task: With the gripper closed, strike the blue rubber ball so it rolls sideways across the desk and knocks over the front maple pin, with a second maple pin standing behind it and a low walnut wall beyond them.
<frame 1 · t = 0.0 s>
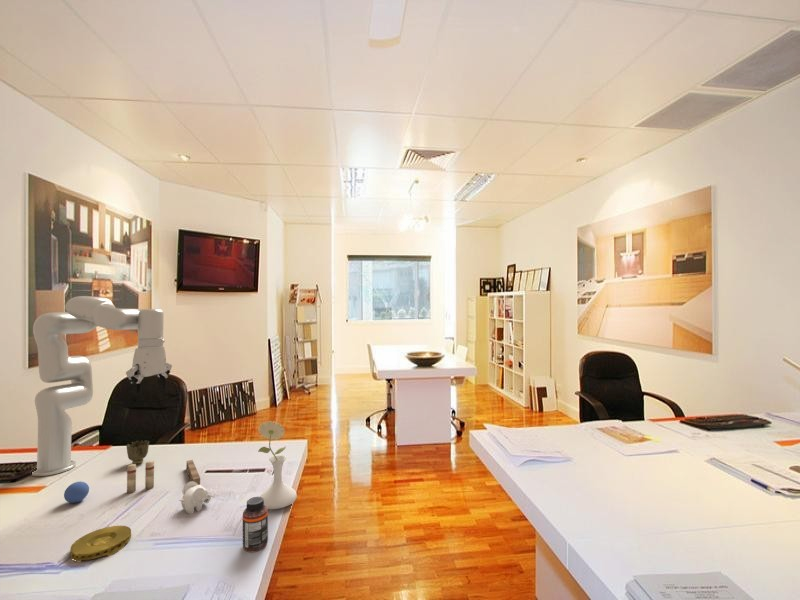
hand: (150, 392, 133), 31 cm above the table, tool pointing down, fingers open, 9 cm apart
elephant figurine: (196, 508, 113), on the table
cup: (137, 464, 148), on the table
back wall: (192, 477, 135), on the table
gold brake disc: (101, 548, 95), on the table
front pin: (131, 491, 124), on the table
flower in vase: (275, 504, 115), on the table
supplement bottle: (255, 546, 94), on the table
rear pin: (149, 487, 127), on the table
ball: (76, 492, 118), on the table
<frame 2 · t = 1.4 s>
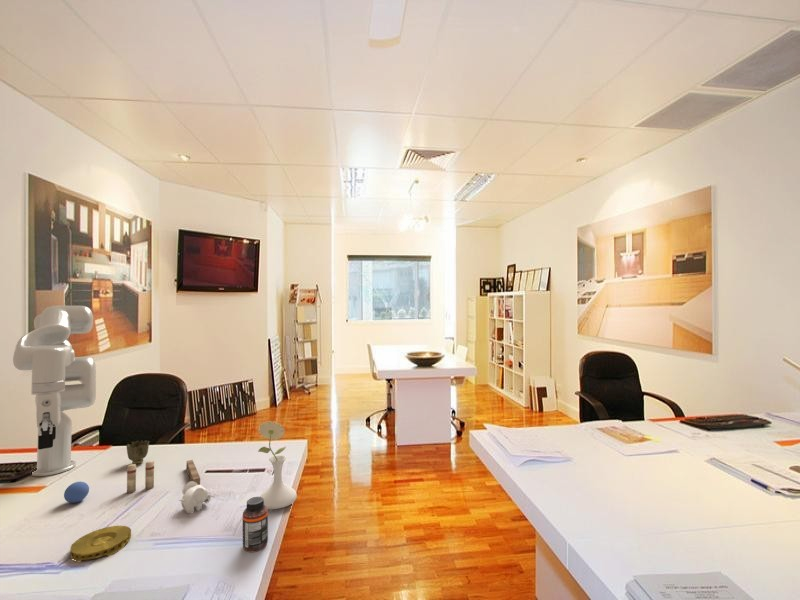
hand: (47, 444, 114), 19 cm above the table, tool pointing down, fingers open, 9 cm apart
nothing on the table moved.
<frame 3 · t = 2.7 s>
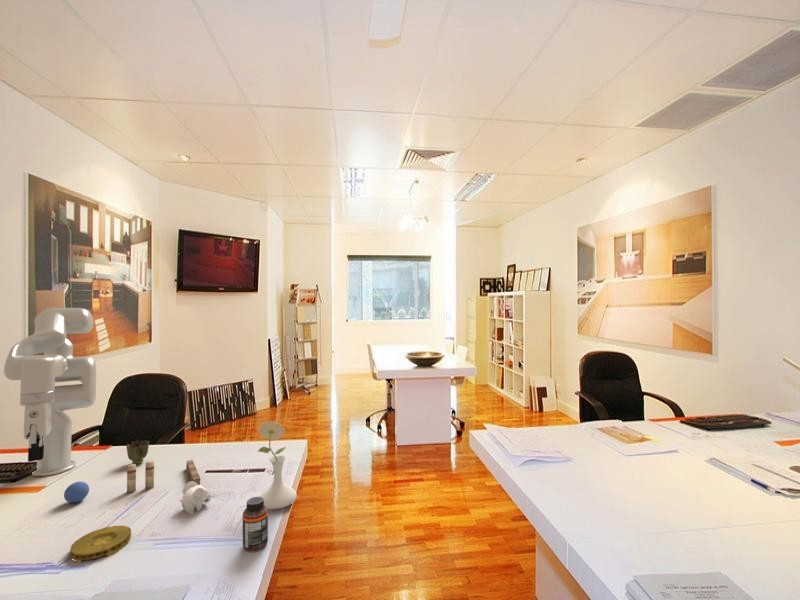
hand: (35, 459, 113), 15 cm above the table, tool pointing down, fingers closed
nothing on the table moved.
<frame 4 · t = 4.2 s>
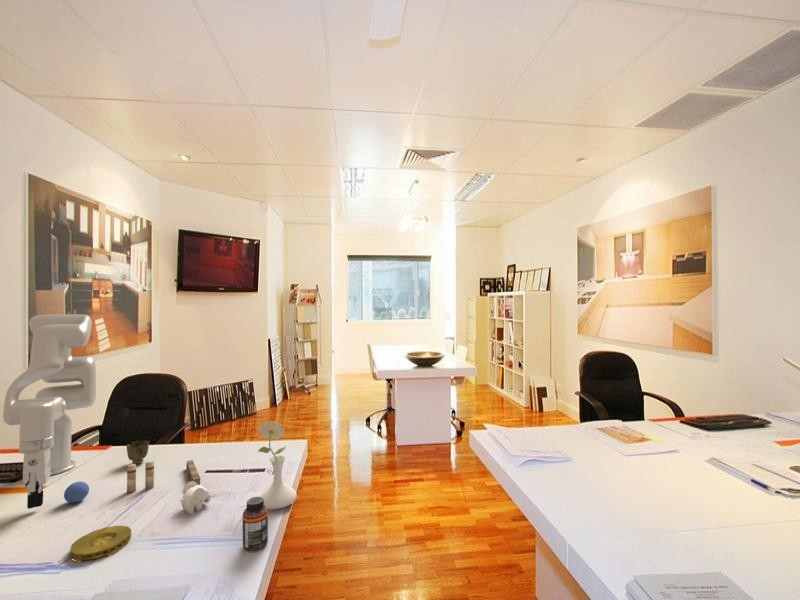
hand: (35, 506, 112), 2 cm above the table, tool pointing down, fingers closed
nothing on the table moved.
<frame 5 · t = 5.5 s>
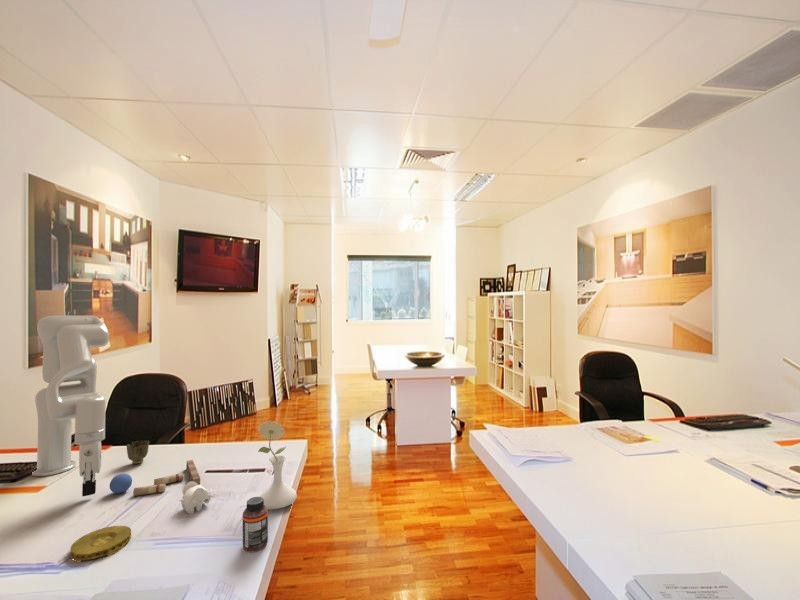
hand: (89, 494, 120), 2 cm above the table, tool pointing down, fingers closed
front pin: (134, 491, 121), point 1 cm above the table, tilted 90°
rear pin: (154, 483, 128), point 1 cm above the table, tilted 90°
ball: (121, 483, 124), on the table
everything else where it was.
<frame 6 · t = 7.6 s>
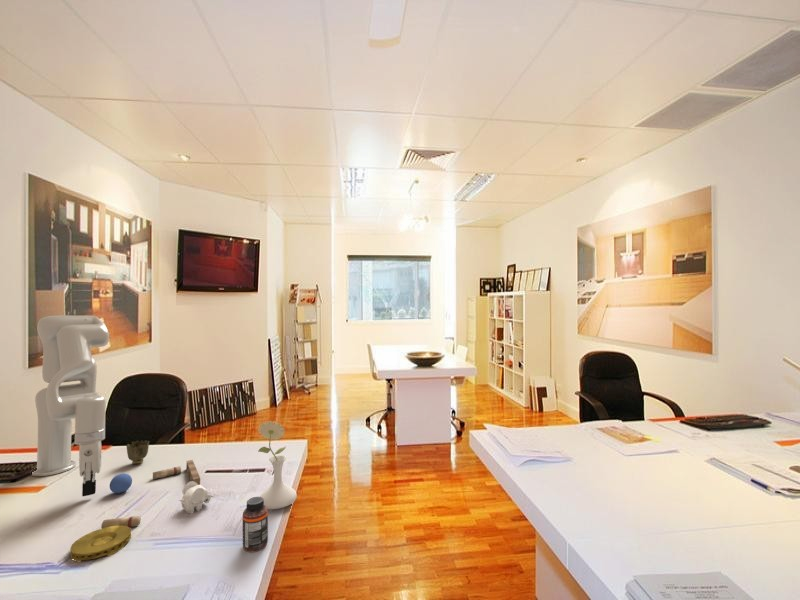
hand: (89, 494, 120), 2 cm above the table, tool pointing down, fingers closed
front pin: (103, 524, 102), point 1 cm above the table, tilted 90°
rear pin: (152, 476, 133), point 1 cm above the table, tilted 90°
everything else where it was.
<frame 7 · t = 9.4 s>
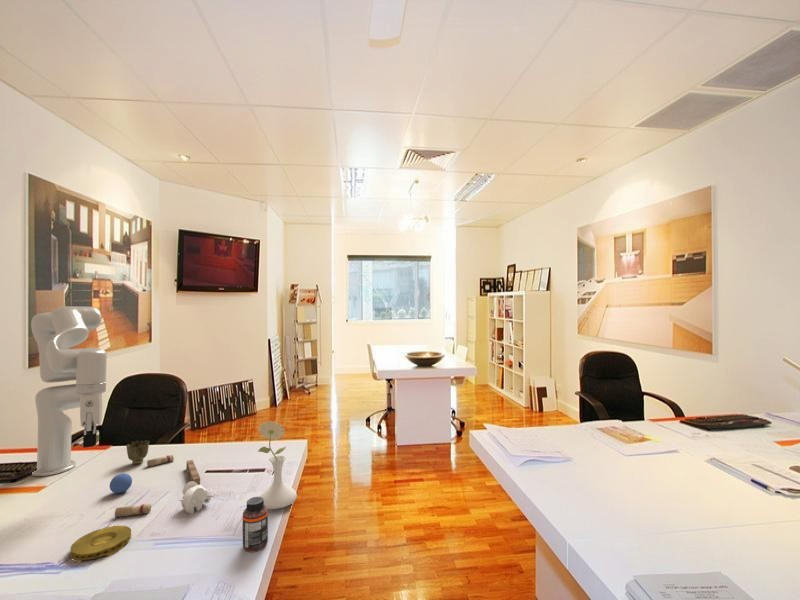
hand: (89, 445, 120), 17 cm above the table, tool pointing down, fingers closed
front pin: (116, 512, 109), point 1 cm above the table, tilted 90°
rear pin: (147, 463, 145), point 1 cm above the table, tilted 90°
everything else where it was.
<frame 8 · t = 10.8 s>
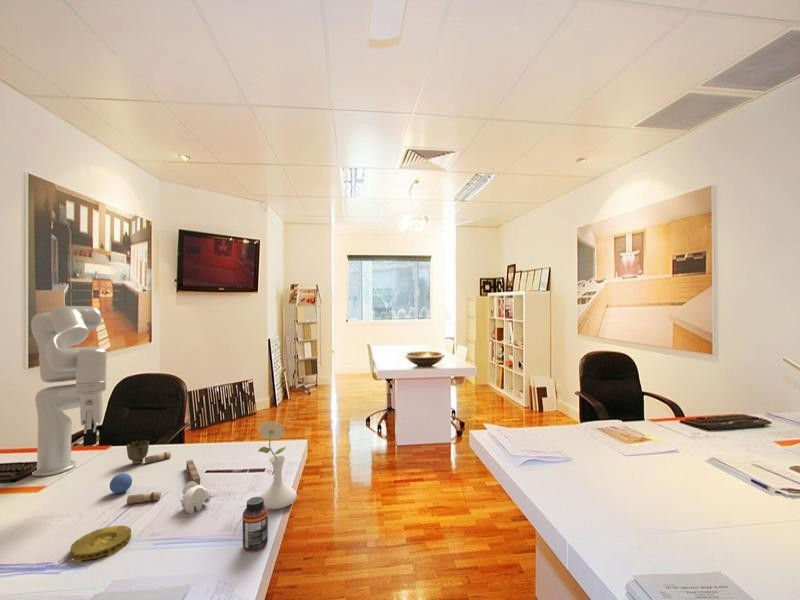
hand: (90, 444, 120), 17 cm above the table, tool pointing down, fingers closed
front pin: (128, 499, 116), point 1 cm above the table, tilted 90°
rear pin: (145, 460, 148), point 1 cm above the table, tilted 90°
everything else where it was.
at the end: front pin tilted 90°; front pin never touched the robot; ball moved 11.2 cm from its start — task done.
